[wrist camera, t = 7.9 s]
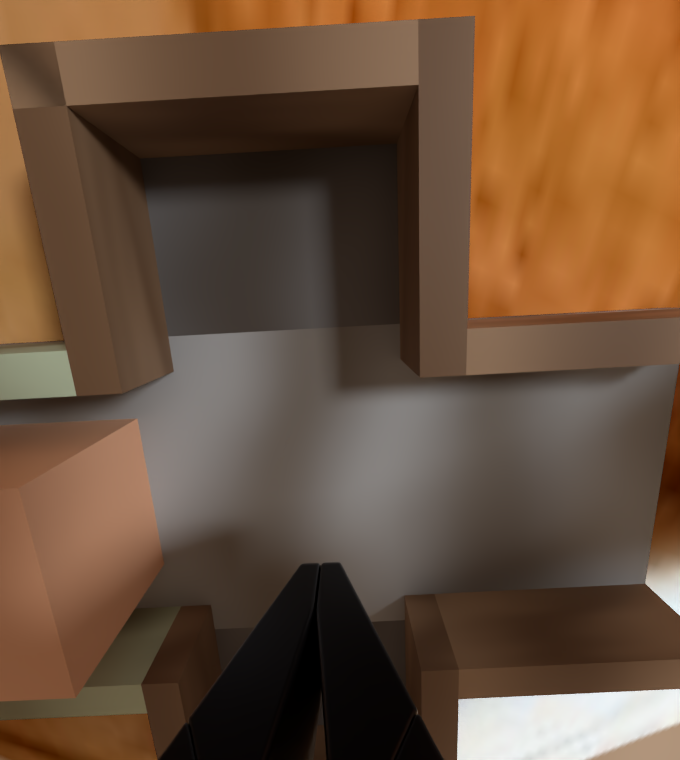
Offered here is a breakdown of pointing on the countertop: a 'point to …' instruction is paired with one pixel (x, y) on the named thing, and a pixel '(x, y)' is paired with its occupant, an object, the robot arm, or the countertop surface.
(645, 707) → the countertop surface
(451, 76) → the trap lane
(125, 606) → the block
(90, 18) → the countertop surface
